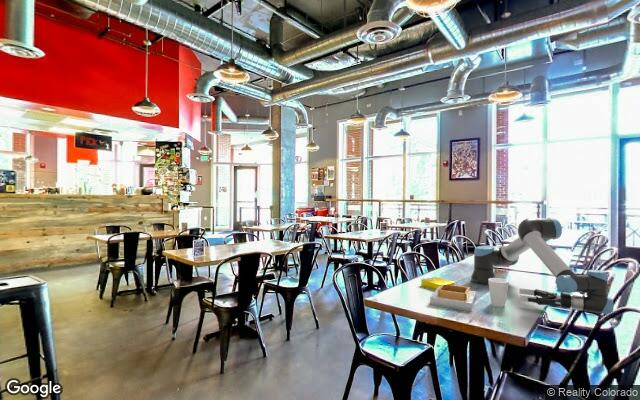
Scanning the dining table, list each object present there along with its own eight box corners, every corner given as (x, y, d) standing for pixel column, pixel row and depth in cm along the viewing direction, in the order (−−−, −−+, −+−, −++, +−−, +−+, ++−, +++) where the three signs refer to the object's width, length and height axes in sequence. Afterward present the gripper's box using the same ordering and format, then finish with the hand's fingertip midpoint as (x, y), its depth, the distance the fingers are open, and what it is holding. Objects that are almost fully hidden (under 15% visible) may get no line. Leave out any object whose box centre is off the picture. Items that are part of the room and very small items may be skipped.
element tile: (439, 292, 204) (439, 284, 204) (419, 286, 216) (419, 278, 216) (455, 288, 211) (455, 281, 211) (435, 283, 224) (435, 275, 224)
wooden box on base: (438, 293, 200) (438, 281, 200) (476, 298, 191) (476, 285, 190) (430, 304, 179) (430, 291, 179) (471, 311, 170) (472, 297, 170)
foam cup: (491, 300, 187) (492, 277, 186) (510, 304, 180) (511, 280, 180) (485, 304, 180) (485, 280, 180) (504, 309, 173) (505, 283, 173)
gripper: (574, 316, 154) (520, 308, 164) (566, 301, 176) (519, 295, 186) (575, 300, 154) (520, 293, 164) (567, 287, 176) (519, 281, 186)
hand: (519, 294), depth 175 cm, fingers open, 13 cm apart
